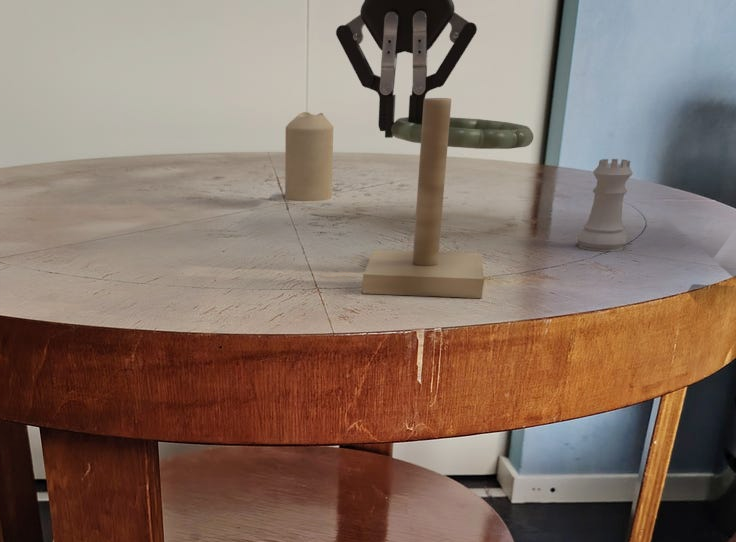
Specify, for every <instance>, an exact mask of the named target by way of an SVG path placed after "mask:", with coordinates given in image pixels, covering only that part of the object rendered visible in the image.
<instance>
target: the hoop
mask: <svg viewBox="0 0 736 542" xmlns="http://www.w3.org/2000/svg"><path fill="white" fill-rule="evenodd" d="M391 132H392V134H393V138H396V139H399V140H403V141H406V142H411V143H413V144H414V143H415V144H421V134H422V124H415V123H411V122H408V116H407V117H399V118H397V119H396V120H394V124H393V125H392V128H391ZM533 141H534V133H533V131H532V129H531V128H530V127H529V126H527V125H524V124H518V123H515V122H514V123H513V122H509V121H500V120H491V119H480V118H468V117H467V118H465V117H451V116H450V123H449V135H448V147H447V148H449V147H450V148H461V149H463V148H464V149H476V150H479V149H480V150H509V149H510V150H511V149H519V148H526V147H529V146H530V145H531V144H532V143H533Z"/></svg>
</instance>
